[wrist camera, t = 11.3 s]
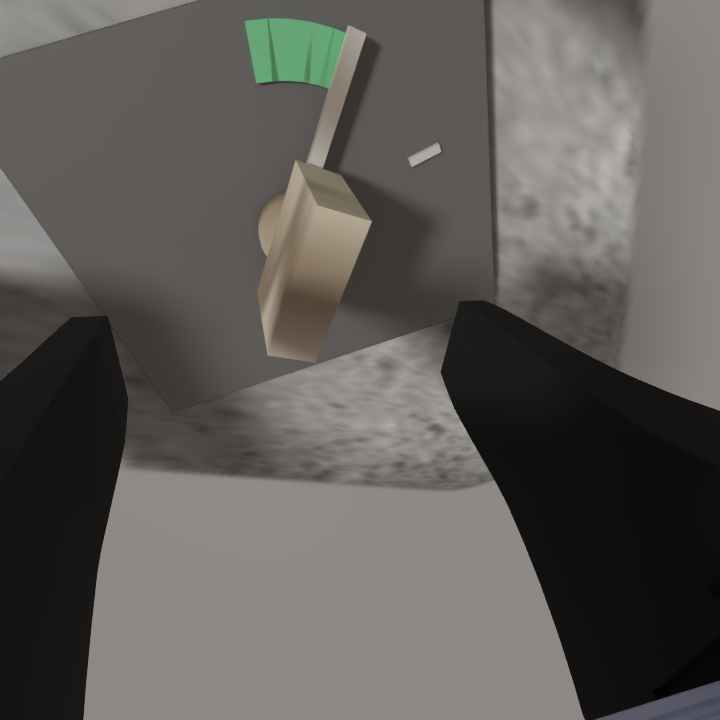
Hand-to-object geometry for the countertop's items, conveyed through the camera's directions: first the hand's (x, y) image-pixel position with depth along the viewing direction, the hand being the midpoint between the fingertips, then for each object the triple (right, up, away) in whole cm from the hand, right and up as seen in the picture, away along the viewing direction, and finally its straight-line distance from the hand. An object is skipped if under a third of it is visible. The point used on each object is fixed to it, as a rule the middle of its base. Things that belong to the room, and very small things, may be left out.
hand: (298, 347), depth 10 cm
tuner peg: (0, +6, +7) cm, 9 cm away
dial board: (-2, +6, +9) cm, 10 cm away
